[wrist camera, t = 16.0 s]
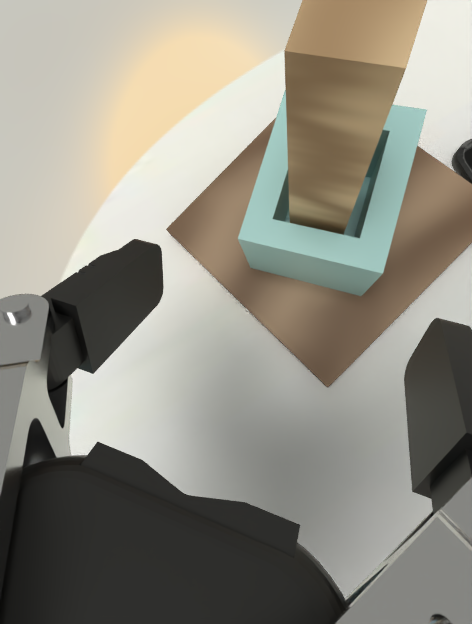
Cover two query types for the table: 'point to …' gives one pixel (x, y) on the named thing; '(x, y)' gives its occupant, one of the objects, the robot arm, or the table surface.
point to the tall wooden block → (341, 99)
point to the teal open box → (361, 226)
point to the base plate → (317, 299)
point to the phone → (463, 161)
